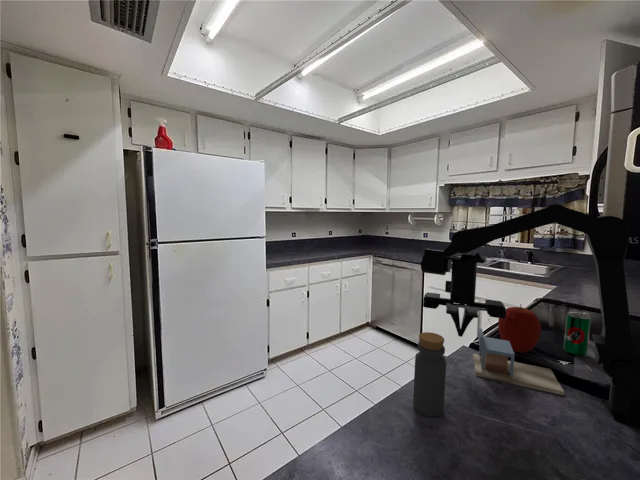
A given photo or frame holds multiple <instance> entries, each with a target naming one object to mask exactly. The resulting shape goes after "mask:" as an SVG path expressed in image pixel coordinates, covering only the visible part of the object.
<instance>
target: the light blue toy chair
mask: <svg viewBox="0 0 640 480" xmlns="http://www.w3.org/2000/svg"><path fill="white" fill-rule="evenodd" d="M477 334H478V336H477V339H478V344H479V348H478V349H479V352H478V355H479V357H482V364H481V370H484V365H485V352H487V353H492V354H498V355H503V356H508V358H510V361H511V362H510V374H509V375H510V376H512V377H513V369H514V362H515V356H516V355H515V354H516V353H515V352H513V349H512V347H511V344H510V342H509V341H506V340H501V338H500V339H499V338H493V337H489V336H484V332H483V328H478V332H477Z"/></svg>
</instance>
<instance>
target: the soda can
mask: <svg viewBox="0 0 640 480" xmlns="http://www.w3.org/2000/svg"><path fill="white" fill-rule="evenodd" d="M565 318H566V319H565V329H564V339H563V350H564V351H565V353H567V352H568V353H567V354H569V353H570V354H569V355H572V354H573V355H572V356H575V355H577V356H576V357H585V356H587V355H588V350H589V349H588V348H589V339H590V333H591V332H590V331H591V323H592V317H591V316H590V313H588V312H586V311H582V310H577V309H569V310H568V312H567V313H566V317H565Z"/></svg>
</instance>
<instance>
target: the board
mask: <svg viewBox="0 0 640 480" xmlns="http://www.w3.org/2000/svg"><path fill="white" fill-rule="evenodd" d="M472 354H473V355H472V356H473V363H474V365H473V366H474V372H475V373H474V374H475V376H478V377H480V378H486V379H490V380H494V381H500V382H502V383H508V384H511V385H517V386H521V387H525V388H531V389H534V390H537V391H539V390H540V391H542V392H543V391H544V392H548V393H551V394H556V395H561V396H565V391H564V389H563V387H562V386H561V384H560V382H559V381H558V379H557V377H556V375H555V374H554V372H553V371H552V369H551V368H548V367H547V368H546V367H541V366H537V365H532V364H527V363H521V362H518V361H514V369H513V377H512V376H510V375H509V374H510V362H511V360H508V363H507V375H505V374H501V373H496V372H491V371H487V370H485V368H484V370H481V364H482V357H479V353H478V354H477V353H472Z"/></svg>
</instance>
